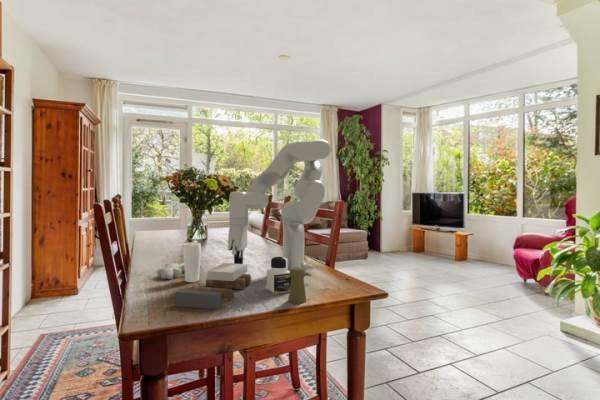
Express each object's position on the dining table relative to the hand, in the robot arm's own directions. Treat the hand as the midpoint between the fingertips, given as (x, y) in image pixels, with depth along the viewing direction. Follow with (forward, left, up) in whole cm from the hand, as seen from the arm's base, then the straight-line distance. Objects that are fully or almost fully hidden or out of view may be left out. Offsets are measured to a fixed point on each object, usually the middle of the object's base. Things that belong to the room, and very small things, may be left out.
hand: (238, 266), depth 140 cm
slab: (0, +11, -1) cm, 11 cm away
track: (0, +16, -5) cm, 17 cm away
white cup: (+17, +7, -5) cm, 19 cm away
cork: (-29, +21, -5) cm, 36 cm away
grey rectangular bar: (0, +33, -5) cm, 34 cm away
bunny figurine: (+30, +1, -6) cm, 30 cm away
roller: (0, +25, -5) cm, 25 cm away
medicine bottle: (-20, +11, -5) cm, 23 cm away
